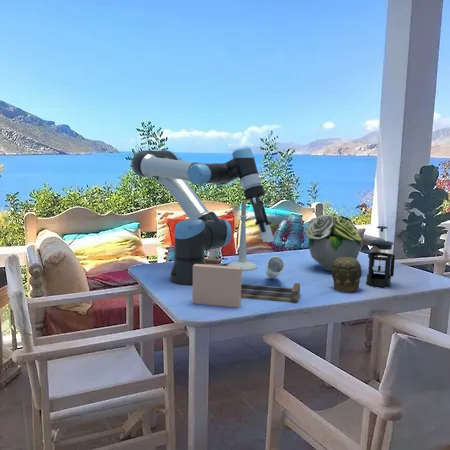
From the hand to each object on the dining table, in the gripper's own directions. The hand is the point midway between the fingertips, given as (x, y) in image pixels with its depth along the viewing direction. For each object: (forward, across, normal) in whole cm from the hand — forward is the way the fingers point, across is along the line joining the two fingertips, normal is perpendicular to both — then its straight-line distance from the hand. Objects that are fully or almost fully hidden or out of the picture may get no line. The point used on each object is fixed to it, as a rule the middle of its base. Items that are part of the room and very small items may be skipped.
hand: (268, 241), depth 179 cm
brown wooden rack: (+18, -7, +8) cm, 21 cm away
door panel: (+16, -20, +21) cm, 33 cm away
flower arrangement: (+18, +37, -20) cm, 46 cm away
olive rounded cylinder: (+25, +9, -21) cm, 34 cm away
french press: (+28, +18, -35) cm, 48 cm away
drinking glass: (+12, +16, +4) cm, 20 cm away
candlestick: (+6, +31, +18) cm, 36 cm away
